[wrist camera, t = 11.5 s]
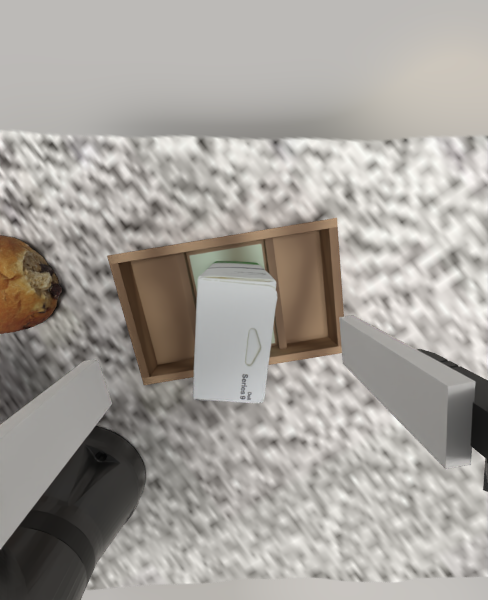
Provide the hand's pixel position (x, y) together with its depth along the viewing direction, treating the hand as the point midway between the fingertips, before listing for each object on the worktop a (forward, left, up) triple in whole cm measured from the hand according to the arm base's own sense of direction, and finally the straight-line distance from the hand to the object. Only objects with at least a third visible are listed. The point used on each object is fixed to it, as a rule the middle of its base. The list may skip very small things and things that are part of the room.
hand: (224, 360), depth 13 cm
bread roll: (-23, +6, -15) cm, 28 cm away
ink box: (0, 0, -14) cm, 14 cm away
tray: (0, 0, -15) cm, 15 cm away
